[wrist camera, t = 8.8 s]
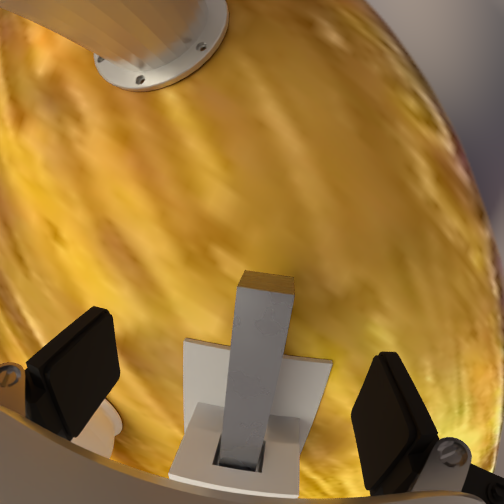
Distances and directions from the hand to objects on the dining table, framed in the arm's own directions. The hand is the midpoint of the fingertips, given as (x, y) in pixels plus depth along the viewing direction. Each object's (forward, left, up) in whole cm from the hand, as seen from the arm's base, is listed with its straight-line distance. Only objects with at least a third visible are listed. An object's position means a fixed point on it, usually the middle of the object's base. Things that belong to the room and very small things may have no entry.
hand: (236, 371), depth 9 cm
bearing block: (+18, 0, -14) cm, 22 cm away
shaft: (+9, 0, -9) cm, 13 cm away
